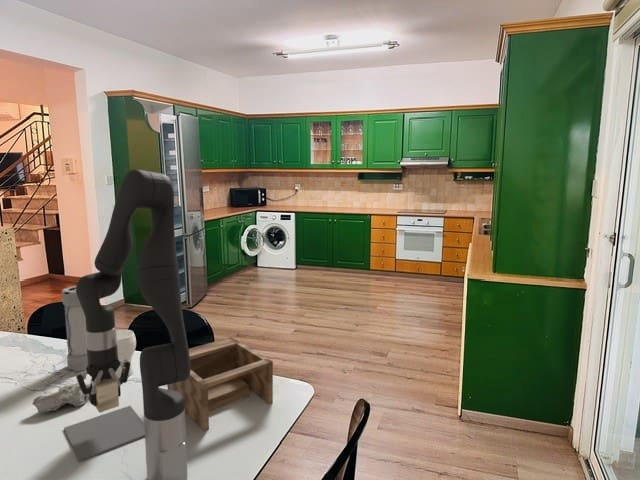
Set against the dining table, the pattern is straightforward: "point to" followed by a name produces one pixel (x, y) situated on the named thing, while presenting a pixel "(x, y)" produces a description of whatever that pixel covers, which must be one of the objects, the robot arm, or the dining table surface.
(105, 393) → the block
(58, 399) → the rock
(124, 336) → the cup
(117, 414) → the mat
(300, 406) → the dining table surface
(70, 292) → the canister
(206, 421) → the access box
